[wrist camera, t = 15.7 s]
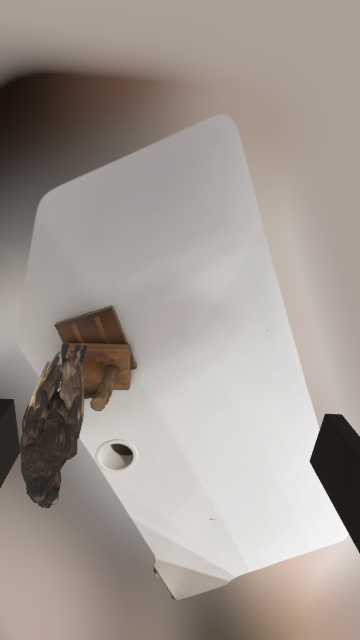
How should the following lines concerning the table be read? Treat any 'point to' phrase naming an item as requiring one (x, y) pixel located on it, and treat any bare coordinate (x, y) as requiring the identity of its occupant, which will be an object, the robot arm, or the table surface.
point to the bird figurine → (66, 411)
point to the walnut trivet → (94, 330)
